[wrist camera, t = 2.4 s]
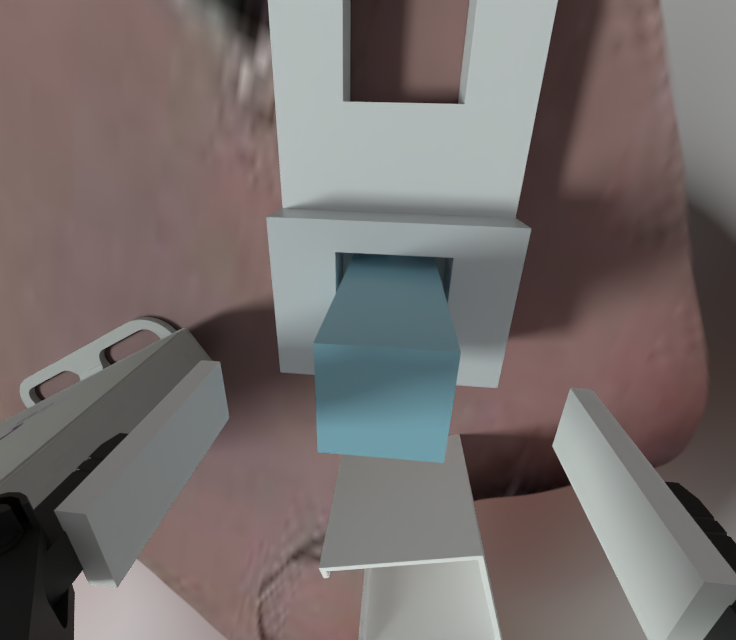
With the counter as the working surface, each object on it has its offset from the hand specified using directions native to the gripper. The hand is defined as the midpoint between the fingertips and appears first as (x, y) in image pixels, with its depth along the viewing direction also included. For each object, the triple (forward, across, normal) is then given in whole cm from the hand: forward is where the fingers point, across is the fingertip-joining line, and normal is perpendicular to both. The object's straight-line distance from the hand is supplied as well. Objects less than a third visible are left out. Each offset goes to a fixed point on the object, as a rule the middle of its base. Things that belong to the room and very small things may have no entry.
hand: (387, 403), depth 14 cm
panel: (+14, 0, +7) cm, 16 cm away
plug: (+11, 0, 0) cm, 11 cm away
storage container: (+15, +5, -28) cm, 32 cm away
